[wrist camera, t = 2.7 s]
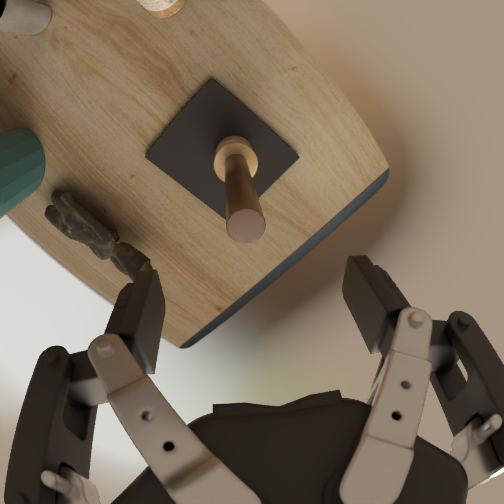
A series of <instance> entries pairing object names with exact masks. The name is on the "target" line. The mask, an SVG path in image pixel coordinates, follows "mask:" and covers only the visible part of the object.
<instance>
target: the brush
mask: <svg viewBox="0 0 504 504" xmlns="http://www.w3.org/2000/svg"><path fill="white" fill-rule="evenodd" d="M257 167H258V160H257V156H256V154H255V152H254V150H253V148H252V146H251V144H250V143H249V142H248V141H247V140H246V139H245V138H243V137H240V136H229V137H226V138H224V139H223V140H222V141H220V143H219V144H218V145H217V147H216V151H215V158H214V169H215V172H216V174H217V176H218V177H219V178H220V179H221V180H222V181H224V182H225V197H226V229H227V232H228V234H229V236H230V237H231V238H232V239H233V240H235V241H237V242H240V243H251V242H254V241H256V240H257V239H259V238H260V237H261V236H262V234H263V233H264V231H265V226H266V223H265V219H264V216H263V212H262V209H261V206H260V203H259V199H258V196H257V193H256V190H255V187H254V183H253V180H252V177H253V176H254V175H255V173H256V171H257Z"/></svg>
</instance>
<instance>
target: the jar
mask: <svg viewBox="0 0 504 504" xmlns="http://www.w3.org/2000/svg"><path fill="white" fill-rule="evenodd" d="M44 172H45V156H44V151H43V148H42V146H41V143H40V142H39V140H38V138H37V137H36V136H35V135H34V134H33V133H32V132H30V131H29V130H26V129H21V128H20V129H14V130H11V131H8V132H6V133H3V134H0V218H2V217H3V216H4V215H5V214H7V213H8V212H9V211H10V210H11V209H13V208H14V207H15V206H16V205H18V204H19V203H20V202H22V201H23V200H24V199H25V198H27V197H28V196H29V195H30V194H31V193H33V192H34V191H35V190H36V189H37V188H38V187H39V185H40V184H41V182H42V179H43V176H44Z"/></svg>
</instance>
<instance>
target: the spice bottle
mask: <svg viewBox="0 0 504 504" xmlns="http://www.w3.org/2000/svg"><path fill="white" fill-rule="evenodd" d="M137 1H138V2H139V3H140V4H141V5H142V6H143V7H144V8H146V9H147V10H148V12H149V13H150V14H151V15H153V16H155V17H158V18H165V17H169V16H172V15H174V14H176V13H177V12H178V11H179V10H180V9H181V8H182V7H183V5H184V2H185V0H137Z"/></svg>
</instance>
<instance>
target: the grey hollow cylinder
mask: <svg viewBox="0 0 504 504" xmlns="http://www.w3.org/2000/svg"><path fill="white" fill-rule="evenodd" d="M51 16H52V11H51V8H50V7H48V6H46V5H43V4H40V3H37V2H33V1H30V0H0V32H3V33H15V34H24V35H37V34H39V33H41V32H42V31H43V30H44V29H45V28H46V27H47V25H48V24H49V22H50V20H51Z"/></svg>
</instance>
